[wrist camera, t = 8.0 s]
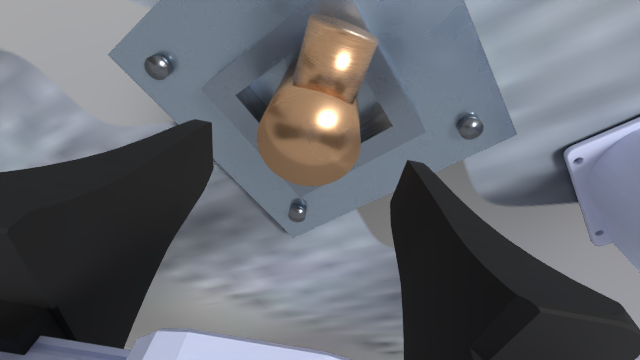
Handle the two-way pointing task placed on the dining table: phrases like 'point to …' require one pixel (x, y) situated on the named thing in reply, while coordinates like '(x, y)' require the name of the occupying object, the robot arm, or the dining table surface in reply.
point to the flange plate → (373, 97)
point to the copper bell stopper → (318, 105)
